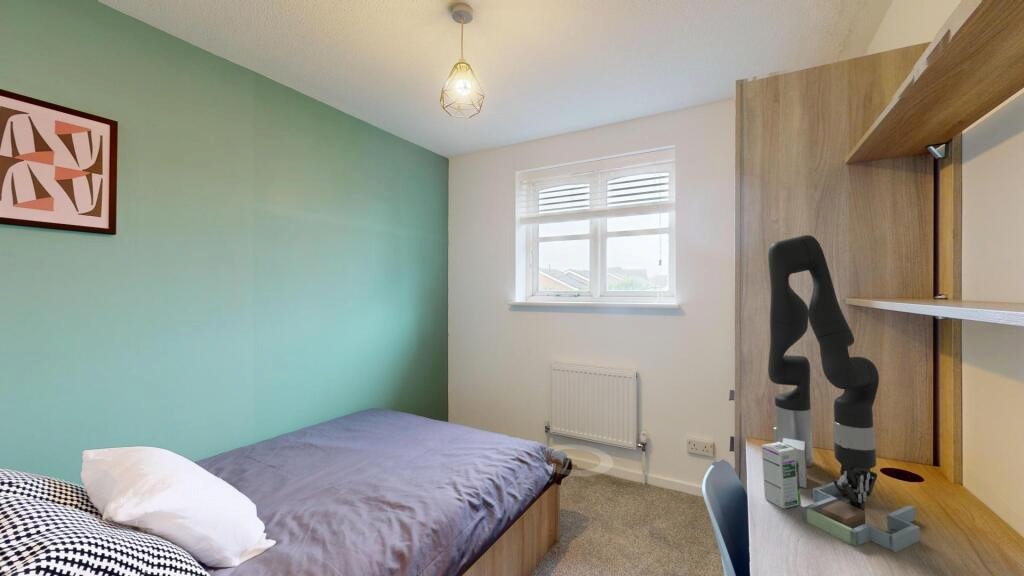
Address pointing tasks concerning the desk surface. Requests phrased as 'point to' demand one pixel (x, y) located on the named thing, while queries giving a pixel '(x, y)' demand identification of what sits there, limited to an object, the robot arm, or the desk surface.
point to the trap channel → (892, 539)
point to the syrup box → (781, 474)
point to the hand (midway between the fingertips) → (857, 515)
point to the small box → (799, 458)
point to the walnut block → (845, 514)
